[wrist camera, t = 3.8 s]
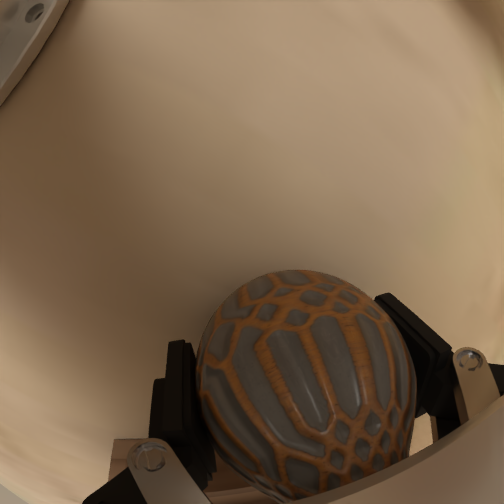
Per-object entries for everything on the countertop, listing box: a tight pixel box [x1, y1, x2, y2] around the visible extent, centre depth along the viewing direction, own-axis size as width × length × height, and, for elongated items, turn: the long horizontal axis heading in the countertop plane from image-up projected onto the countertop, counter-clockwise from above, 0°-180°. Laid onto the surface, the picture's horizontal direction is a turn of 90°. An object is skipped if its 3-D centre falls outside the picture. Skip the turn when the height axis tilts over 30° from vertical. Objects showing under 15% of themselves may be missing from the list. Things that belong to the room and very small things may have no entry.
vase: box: [195, 270, 417, 504], centre depth 8 cm, size 7×7×9 cm
